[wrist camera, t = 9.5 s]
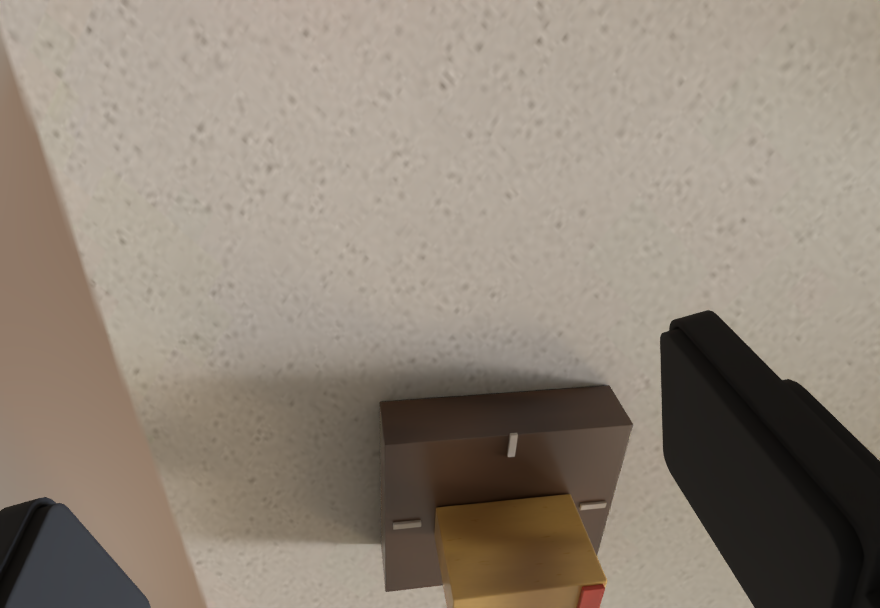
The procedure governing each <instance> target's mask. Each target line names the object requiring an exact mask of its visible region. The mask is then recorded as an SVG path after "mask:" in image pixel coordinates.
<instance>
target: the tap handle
mask: <svg viewBox="0 0 880 608" xmlns="http://www.w3.org/2000/svg"><path fill="white" fill-rule="evenodd" d="M434 537H435V543H436V548H437V554H438V560H439V565H440V571H441V576H442V582H443V588H444V593H445V599H446V605H447V608H599V607H600V604H601V600H602V597H603V594H604V590H605V587H606V583H607V579H606V577H605V574H604V572H603V570H602V567H601V565H600V563H599V560H598V558H597V556H596V553H595V551H594V549H593V546H592V544H591V542H590V539H589V537H588V535H587V532H586V530H585V527H584V525H583V523H582V520H581V518H580V516H579V513H578V511H577V509H576V506H575V504H574V502H573V499H572V497H571V495H570V494H564V495H554V496H544V497H534V498H524V499H514V500H504V501H495V502H485V503H475V504H465V505H455V506H445V507H437V508H436V514H435V533H434Z"/></svg>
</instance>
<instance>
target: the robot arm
mask: <svg viewBox="0 0 880 608" xmlns="http://www.w3.org/2000/svg"><path fill="white" fill-rule="evenodd" d="M660 351H661V389H662V427H663V453H664V458H665V461H666V464H667V467H668V469H669V471H670V473H671V475H672V476H673V478H674V480H675V481H676V483H677V484H678V486H679V488H680V489H681V491H682V492H683V494H684V496H685V497H686V499H687V500H688V502H689V503H690V505H691V507H692V508H693V510H694V511H695V513H696V515H697V516H698V518H699V519H700V521H701V523H702V524H703V526H704V527H705V529H706V531H707V532H708V534H709V535H710V537H711V539H712V540H713V542H714V543H715V545H716V547H717V548H718V550H719V551H720V553H721V555H722V556H723V558H724V559H725V561H726V562H727V564H728V566H729V567H730V569H731V570H732V572H733V574H734V575H735V577H736V578H737V580H738V582H739V583H740V585H741V586H742V588H743V590H744V591H745V593H746V594H747V596H748V598H749V599H750V601H751V602H752V604H753V606H754V607H755V608H880V461H879V460H878V459H877V458H876V457H875V456H874V455H873V454H872V453H871V452H870V451H869V450H868V449H867V448H866V447H865V446H864V445H863V444H862V443H861V442H859V441H858V440H857V439H856V438H855V437H854V436H853V435H852V434H851V433H850V432H849V431H848V430H847V429H846V428H845V427H844V426H843V425H842V424H841V423H840V422H839V421H838V420H837V419H836V418H835V417H834V416H833V415H832V414H831V413H830V412H829V411H828V410H827V409H826V408H825V407H824V406H823V405H822V404H821V403H819V402H818V401H817V400H816V399H815V398H814V397H813V396H812V395H811V394H810V393H809V392H808V391H807V390H806V389H805V388H804V387H802V386H801V385H800V384H798V383H797V382H795V381H792V380H789V379H787V380H781V379H780V378H779V377H778V376H777V375H776V374H775V373H774V372H773V371H772V370H771V369H770V368H769V367H768V366H767V365H766V364H765V363H764V362H763V361H762V360H761V359H760V358H759V357H758V356H757V355H756V354H755V353H754V352H753V351H752V350H751V348H750V347H749V346H748V345H747V344H746V343H745V342H744V341H743V340H742V339H741V338H740V337H739V336H738V335H737V334H736V333H735V332H734V331H733V330H732V329H731V328H730V327H729V326H728V325H727V324H726V323H725V322H724V321H723V320H722V319H721V318H720V317H719V316H718V315H717V314H715V313H714V312H713V311H709V310H707V311H703V312H700V313H696V314H693V315H689V316H686V317H682V318H679V319H675V320H673V321H671V324H670V329H669V331H668V332H664V333H662V334H661V337H660ZM0 608H150V604H149V601H148V599H147V598H146V596H145V595H144V594H143V593H142V592H141V591H140V590H139V588H137V586H136V585H135V584H134V583H133V582H132V580H131V579H130V578H129V577H128V576H127V575H126V574H125V573H124V571H123V570H122V569H121V568H120V567H119V566H118V564H117V563H116V562H115V561H114V560H113V559H112V558H111V556H110V555H109V554H108V553H107V552H106V551H105V550H104V549H103V547H102V546H101V545H100V544H99V543H98V542H97V540H96V539H95V538H94V537H93V536H92V535H91V534H90V532H89V531H88V530H87V529H86V528H85V527H84V526H83V524H82V523H81V522H80V521H79V520H78V519H77V517H76V516H75V515H74V514H73V513H72V512H71V511H70V509H69V508H68V507H66V506H65V505H64V504H61V503H55V502H54V501H53V500H51V499H49V498H46V497H44V498H38V499H35V500H32V501H28V502H24V503H21V504H17V505H13V506H10V507H6V508H4V509H2V510H1V511H0Z"/></svg>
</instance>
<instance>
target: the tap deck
mask: <svg viewBox="0 0 880 608" xmlns="http://www.w3.org/2000/svg"><path fill="white" fill-rule="evenodd" d="M632 427H633V423H632V422H631V420H630V418H629V417H628V415H627V414H626V412H625V410H624V409H623V407H622V405H621V404H620V402H619V400H618V399H617V397H616V395H615V394H614V392H613V391H612V389H611V387H610V386H595V387H581V388H567V389H553V390H539V391H525V392H511V393H497V394H483V395H469V396H455V397H441V398H427V399H413V400H399V401H385V402H380V477H381V548H382V559H383V570H384V581H385V591H386V592H389V591H398V590H406V589H414V588H423V587H431V586H439V585H443V582H442V576H441V571H440V565H439V560H438V554H437V548H436V543H435V537H434V533H435V514H436V508H437V507H445V506H455V505H465V504H475V503H485V502H495V501H504V500H514V499H524V498H534V497H544V496H554V495H564V494H570V495H571V497H572V499H573V502H574V504H575V506H576V509H577V511H578V513H579V516H580V518H581V520H582V523H583V525H584V527H585V530H586V532H587V535H588V537H589V539H590V542H591V544H592V546H593V549H594V551H595V553H596V556H597V554H598V550H599V546H600V543H601V539H602V536H603V532H604V528H605V525H606V521H607V517H608V514H609V510H610V507H611V503H612V499H613V496H614V492H615V489H616V485H617V481H618V478H619V474H620V471H621V467H622V463H623V460H624V456H625V453H626V449H627V445H628V442H629V438H630V434H631V431H632Z"/></svg>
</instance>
